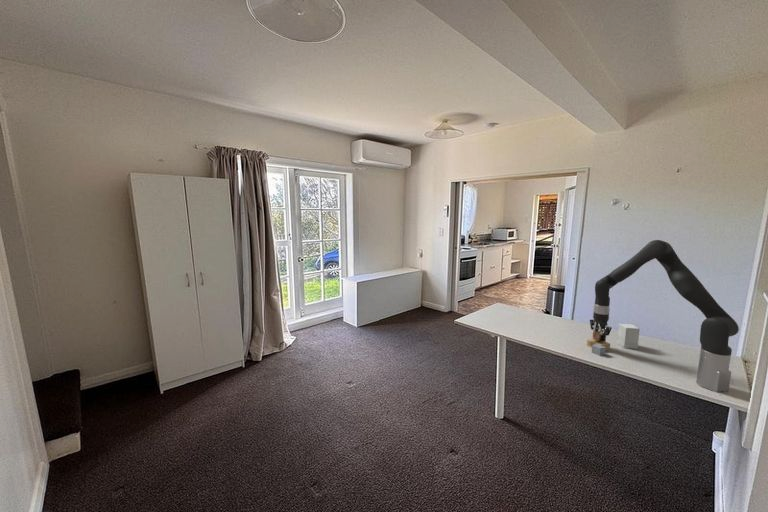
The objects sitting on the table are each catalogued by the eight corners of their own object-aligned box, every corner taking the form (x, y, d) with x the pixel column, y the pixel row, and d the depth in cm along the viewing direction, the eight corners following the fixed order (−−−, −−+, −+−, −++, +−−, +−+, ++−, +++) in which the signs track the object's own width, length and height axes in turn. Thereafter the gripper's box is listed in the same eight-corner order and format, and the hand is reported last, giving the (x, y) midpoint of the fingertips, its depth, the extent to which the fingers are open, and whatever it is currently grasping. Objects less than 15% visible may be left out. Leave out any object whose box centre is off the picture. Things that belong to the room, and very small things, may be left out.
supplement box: (638, 349, 175) (640, 328, 173) (623, 348, 177) (625, 327, 175) (630, 343, 182) (632, 324, 181) (616, 342, 184) (618, 323, 182)
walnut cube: (605, 341, 175) (606, 334, 175) (598, 341, 175) (599, 334, 174) (599, 338, 180) (600, 331, 179) (592, 338, 179) (593, 331, 179)
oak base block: (609, 350, 175) (610, 343, 175) (599, 351, 173) (599, 345, 173) (597, 344, 183) (597, 338, 182) (586, 345, 181) (587, 339, 180)
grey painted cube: (604, 354, 169) (605, 347, 169) (599, 355, 168) (600, 348, 167) (596, 351, 173) (597, 344, 173) (591, 352, 172) (592, 345, 171)
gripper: (617, 315, 168) (614, 344, 170) (597, 308, 182) (595, 334, 185) (605, 316, 168) (602, 344, 170) (586, 308, 182) (584, 334, 184)
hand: (598, 339), depth 177 cm, fingers closed on walnut cube, 4 cm apart
